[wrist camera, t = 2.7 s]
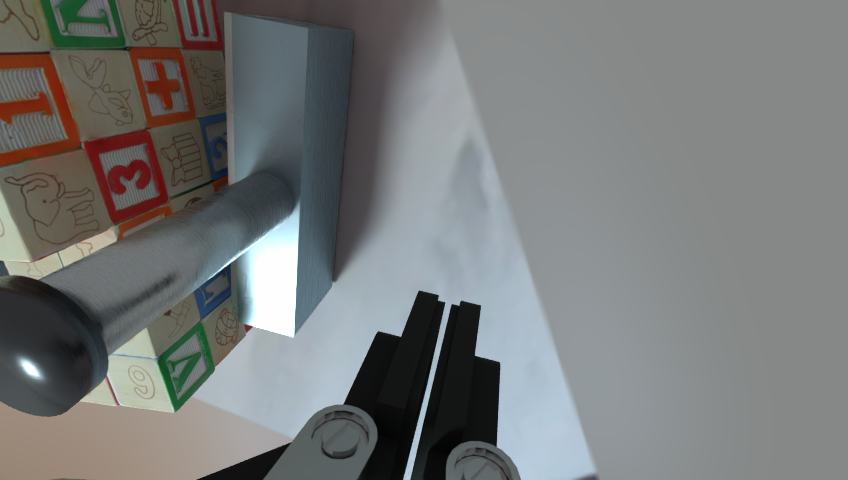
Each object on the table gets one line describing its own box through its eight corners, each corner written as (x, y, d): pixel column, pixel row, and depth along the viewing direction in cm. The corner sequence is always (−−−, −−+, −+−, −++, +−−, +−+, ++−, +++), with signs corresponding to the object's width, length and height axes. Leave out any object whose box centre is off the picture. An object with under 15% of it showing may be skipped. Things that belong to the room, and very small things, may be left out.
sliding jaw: (356, 31, 20) (-9, 7, 6) (333, 287, 26) (119, 569, 12) (283, 17, 21) (-216, -35, 7) (277, 273, 27) (7, 530, 13)
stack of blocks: (276, 307, 28) (122, 475, 17) (190, 300, 30) (-6, 453, 19) (197, -101, 20) (-205, -282, 9) (80, -88, 21) (-403, -233, 10)
